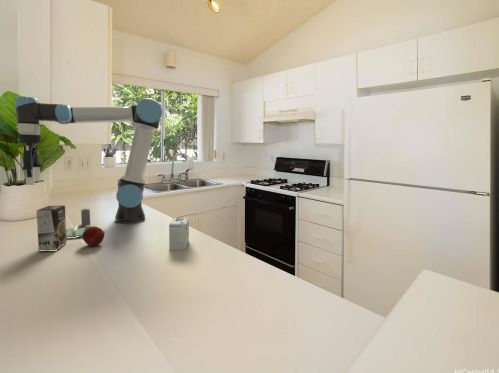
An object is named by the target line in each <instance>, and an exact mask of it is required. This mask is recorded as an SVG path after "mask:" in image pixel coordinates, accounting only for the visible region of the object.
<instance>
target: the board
mask: <svg viewBox="0 0 499 373" xmlns="http://www.w3.org/2000/svg"><path fill="white" fill-rule="evenodd" d="M90 227H92V225H91V224H90V225H86V226H84V227H79V225H75V227H74V228H68V229H67V228H66V236H67V237H76V236H79V237H81V238H80V239H83V238H82V235H83V233H84V231H86V230H87V229H88V228H90Z"/></svg>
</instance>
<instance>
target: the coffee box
mask: <svg viewBox="0 0 499 373" xmlns="http://www.w3.org/2000/svg"><path fill="white" fill-rule="evenodd" d="M36 222H37V225H36V226H37V243H38V245H37V246H38V251H39V250H56V249H58V248H59V247H61V246H62V245H63V244H65V243H66V242H68V241H67V240H68V239H67V236H66V229H67V223H66V222H67V220H66V205H47V206H44V207H42V208H39V209H37V210H36Z"/></svg>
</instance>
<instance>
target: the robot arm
mask: <svg viewBox="0 0 499 373" xmlns="http://www.w3.org/2000/svg"><path fill="white" fill-rule="evenodd" d="M15 112H16V123H17V125H16V126H15V128H16V129H17V132H18V143H19V144H25V145H23V167H21V168H22V170H24V172H25V173H24V174H25V175H24V176H25V185H26V186H34V185H35V182H41V173H40V172H41V171H40V170H41V169H40V168H41V167H42V164H41V163H40V156H39V152H38V145H39V144H41V143H42V140H41V139H42V138H41V137H42V136H41V135H40V134H41V127H40V126H41V125H40V122H55V123H58V124H59V125H69V124H90V123H92V124H95V123H98V124H99V123H125V122H126V123H127V122H128V123H131V124H133V125H134V127H135V128H134V133H133V137H132V142H131V145H130V150H129V155H128V159H127V164H126V167H125V168H126V169H125V173H124V174H123V175H122V176H121V177H120V178H119V179H118V180H117V191H116V200H117V204H118V208H117V210H116V214H115V216H114V221H115V222H116V223H118V224H136V223H140V222H144V221H145V220H146V214H145V212H144V209H143V206H142V201H143V198H144V190H145V187H146V186H145V184H146V181H145V180H144V175H145V171H146V167H147V162H148V160H149V159H148V158H149V154H150V149H151V146H152V142H153V141H152V140H153V136H154V133H155V132H156V131H157V130H159V126H160V121H161V118H162V116H163V108H162V106H161V104H160V103H159V102H158V101H157V100H156V99H154V98H150V97H147V98H145V97H144V98H143V99H140V100H139V101H138V102H137V104H130V105H128V106H95V107H94V106H93V107H92V106H90V107H87V106H84V107H83V106H82V107H81V106H80V107H71V106H69V105H68V104H63V103H58V104H57V103H43V102H39V101H38V99H37V98H35V97H33V96H32V97H31V96H16V98H15ZM36 144H38V145H36Z"/></svg>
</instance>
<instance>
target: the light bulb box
mask: <svg viewBox="0 0 499 373" xmlns="http://www.w3.org/2000/svg"><path fill="white" fill-rule="evenodd" d="M168 234H169V236H168V246H169V247H168V249H169V250H172V251H173V250H175V251H176V250H177V251H181V250H182V251H184V250H186V249H187V247H188V244H189V241H190V240H189V238H190V218H189V217H173V218H172V220H171V222H170V223H169V226H168Z"/></svg>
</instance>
